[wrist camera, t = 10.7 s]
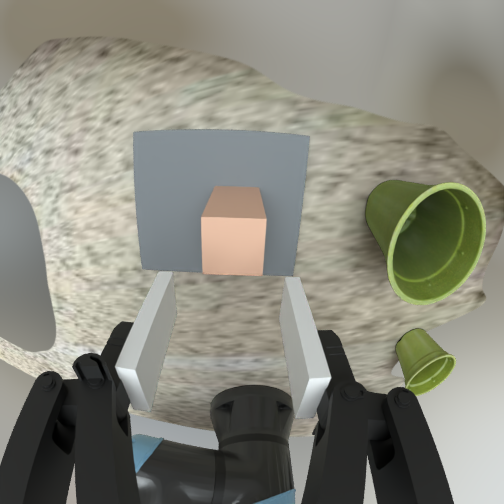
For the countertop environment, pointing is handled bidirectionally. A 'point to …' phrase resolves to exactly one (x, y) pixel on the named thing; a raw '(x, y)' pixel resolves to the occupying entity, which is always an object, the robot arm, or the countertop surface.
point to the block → (233, 232)
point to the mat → (202, 184)
